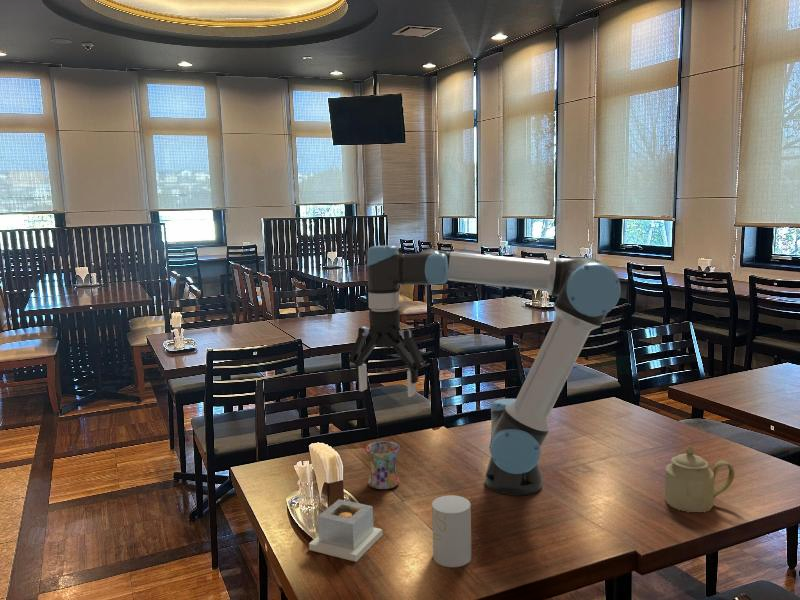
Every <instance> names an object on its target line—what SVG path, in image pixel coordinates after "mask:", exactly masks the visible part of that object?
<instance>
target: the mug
mask: <svg viewBox="0 0 800 600" xmlns="http://www.w3.org/2000/svg"><path fill="white" fill-rule="evenodd" d="M400 450H401V447H400V445H399V444H398V443H396V442H393V441H385V440H383V441H375V442H371V443H369V444H368V445H366V446H365V452H366V454H367V457H368V459H369V464H370V476H369V478H368V481H367V482H368V483H367V484H368V485H369V487H371V488H373V489H377V490H389V489H393V488H395V487H396V486H398V485H399V484H400V479H399V476H398V474H397V468H396V467H397V466H396V464H397V457H398V454H399V452H400Z"/></svg>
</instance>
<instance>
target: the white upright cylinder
mask: <svg viewBox="0 0 800 600" xmlns="http://www.w3.org/2000/svg"><path fill="white" fill-rule="evenodd" d="M471 509H472V508H471V502H470V501H469V500H468V499H467V498H465V497H463V496H460V495H454V494H452V495H451V494H450V495H448V494H447V495H443V496H439V497H437V498H435V499H433V501H432V502H431V511H432V514H431V515H432V517H431V518H432V520H431V521H432V523H431V524H432V552H433V553H432V555H433V556H432V557H433V560H434V562H435V563H436V564H439V565H440V566H442V567H448V568H460V567H462V566H466V565H467V564H468V563H470V561H471V559H472V526H471V525H472V523H471V522H472V521H471V519H472V517H471V516H472V515H471V513H472V512H471Z"/></svg>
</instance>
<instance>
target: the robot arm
mask: <svg viewBox="0 0 800 600" xmlns="http://www.w3.org/2000/svg"><path fill="white" fill-rule="evenodd" d="M366 255H367V259H366V262H367V264H366V269H367V270H366V271H367V272H366V273H367V285H368V286H367V288H368V289H367V291H368V292H367V293H368V295H367V296H368V297H367V298H368V309H370V310H369V311H368V320H369V321H368V322H369V327H367V325H363V326H361V327H359V328H358V330H357V332H358V333H357V338H356V340H355V342H354V345H353V347H352V350H351V353H350V355H349V357H348V362H349V363H352V364H354V365H355V377H356V378H358V389H359V392H364V391H365V390H367V389H368V382H367V381H368V373H367V363H365V361H366V359H368V357H369V356H370V355H371V353H372V352H373V351H374V349H375V348H376V347H386V348H392V349H393V350H394V351H396V353H397V354H398V355H399V357H400V358H401V359H402V361H403V362H404V363H405V364H406V366H407V367H408V368H409V369H407V370H406V374H407V378H406V379H407V383H406V384H407V398H411V397H414V395H416V383H418V381H419V370H421V369H422V368H423V367H425V366H426V363H425V360H424V358H423V355H422V354H421V352H420V350H419V347H418V345H417V344H416V342H415V339H414V337H413V330H412V329H411V328H408V329H405V330H404V329H401V328H400V322H401V320H400V319H401V317H400V315H401V312H400V309H398V308H399V307H400V288H399V286H401V285H402V286H404V285H425V286H426V285H429V286H430V285H431V286H436V285H443V284H446V283H447V282H448V281H453V282H460V283H461V282H462V283H472V284H480V285H481V284H482V285H489V286H497V287H498V286H499V287H505V288H507V287H508V288H509V287H510V288H518V289H527V290H536V291H545V292H547V293H548V295H549V296H553V297H554V296H555V297H556V300H555V302H554V305H553V308H554V310H555V311H554V312H555V317H554V319H553V321H552V323H551V326H550V328H549V330H548V332H547V335H546V336H545V339H544V340H543V342H542V344H541V346H540V348H539V351H538V353H537V355H536V358H535V359H534V361H533V363H532V365H531V368H530V369H529V372H528V374H527V376H526V377H525V380H524V382H523V384H522V386H521V388H520V390H519V392H518V394H517V396H516V398H501V399H495V400H494V401H492V403H491V407H490V414H491V415H490V417H491V418H490V419H491V420H490V422H491V425H490V427H491V428H490V442H489V453H490V455H491V456H490V459H489V462H488V466H487V469H486V471H485V478H484V479H485V485H486V487H487V488H488V489H490V490H491V491H492V492H494V493H495V492H496V493H498V494H500V495H501V494H503V495H505V496H506V495H508V496H526V495H532V494H534V493H536V492H539V491H540V490H541V489H542V488H543V475H542V471H541V469H540V465H539V461H540V458H541V454H542V453H541V451H542V450H541V449H542V446H543V444H544V442H545V439H546V437H547V435H548V434H549V431H550V428H551V427H550V424H549V421H548V418H549V417H550V415H551V413H552V410H553V408H554V406H555V404H556V402H557V400H558V398H559V396H560V393H561V392H562V390H563V388H564V386H565V383H566V382H567V379H568V377H569V376H570V374H571V372H572V370H573V369H574V366H575V364H576V361H577V360H578V358H579V356H580V354H581V352H582V350H583V347H584V345H585V343H586V341H587V340H588V337H589V335H590V333H591V331H594V330H596V329H599V328H601V326H602V324H603V323H604V320H605V319H606V317H607V314H608V313H609V312H611V311H612V310H613V309H614V308H615V307H616V305H618V302H619V300H620V298H621V295H622V293H621V292H622V291H621V290H622V287H621V283H620V279H619V277H618V275H617V273H616V272H615V270H613V268H611V266H609V265H608V264H605V263H603V262H601V261H599V260H597V259H596V258H595V259H594V258H589V257H581V258H580V257H576V258H574V257H573V258H567V257H566V258H564V257H553V258H552V259H550V260H541V259H531V258H520V257H510V256H501V255H489V254H481V253H480V254H479V253H469V252H468V253H467V252H459V251H446V250H438V249H436V248H426V249H423V250H421V251H420V252H418V253H401V252H400V253H399V249H398V247H397V246H396V245H374V246H372V245H371V246H370V247H369V248H367V253H366ZM368 335H369V336H370V337H371V339H370V340H369V342H368V343H367V345H366V347H365V348H364V349H363V351H362V348H363V346H364V344H365V341H366V339H367V336H368ZM400 337H401V338H402V339H403V340H404V343H405V345H406V347H405V346H404V343H403V342H402V340H401V339H400ZM407 349H408V350H407ZM361 351H362V352H361ZM360 352H361V353H360Z"/></svg>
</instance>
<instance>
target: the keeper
mask: <svg viewBox="0 0 800 600" xmlns="http://www.w3.org/2000/svg"><path fill="white" fill-rule="evenodd" d="M339 516H341V517H345V518H350V517H352V514H351V513H349V512H344V513H341V514H339ZM382 536H383V528H380V527H379V528H378V527H374V531H373V532H372V533H371V534H370V535H369V536H368V537H367V538H366V539H365V540H364V541H363V542H362V543H361V544H360V545H359V546H358V547H357V548H356V549H355V550H351V549H346V548H342V547H338V546H334V545H330V544H326V543H322V542H319V535H317V536H316V537H315V538H314V539H312V540H311V541H310V542H309V543H308V548H309V549H308V551H312V552H316V553H320V554H325V555H328V556H332V557H336V558H340V559H343V560H348V561H352V562H355V563H356V562H358V561H359V560H360V558H361V557H363V556H364V555H365V554H366V553H367V551H369V549H370V548H371V547H372V546H373V545H375V544H376V543H377V541H379V540H380V538H381V537H382Z"/></svg>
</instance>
